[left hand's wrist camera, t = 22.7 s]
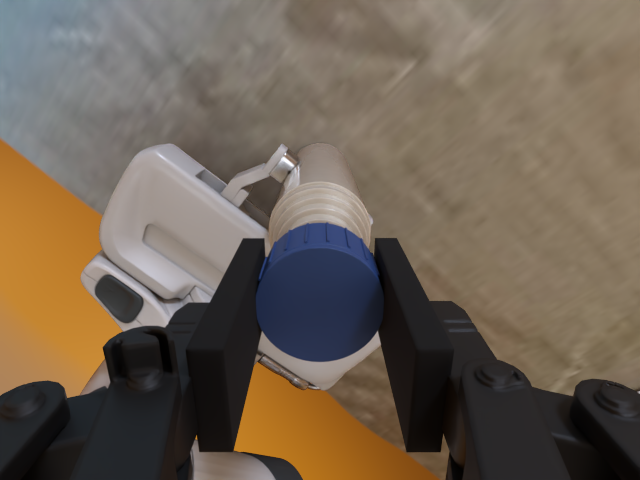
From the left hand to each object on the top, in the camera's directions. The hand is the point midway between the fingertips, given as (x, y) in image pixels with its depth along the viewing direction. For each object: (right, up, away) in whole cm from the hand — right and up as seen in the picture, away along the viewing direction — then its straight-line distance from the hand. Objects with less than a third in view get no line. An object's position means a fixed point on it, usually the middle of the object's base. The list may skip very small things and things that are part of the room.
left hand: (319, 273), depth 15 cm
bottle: (0, +7, +18) cm, 19 cm away
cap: (0, -1, -2) cm, 2 cm away
